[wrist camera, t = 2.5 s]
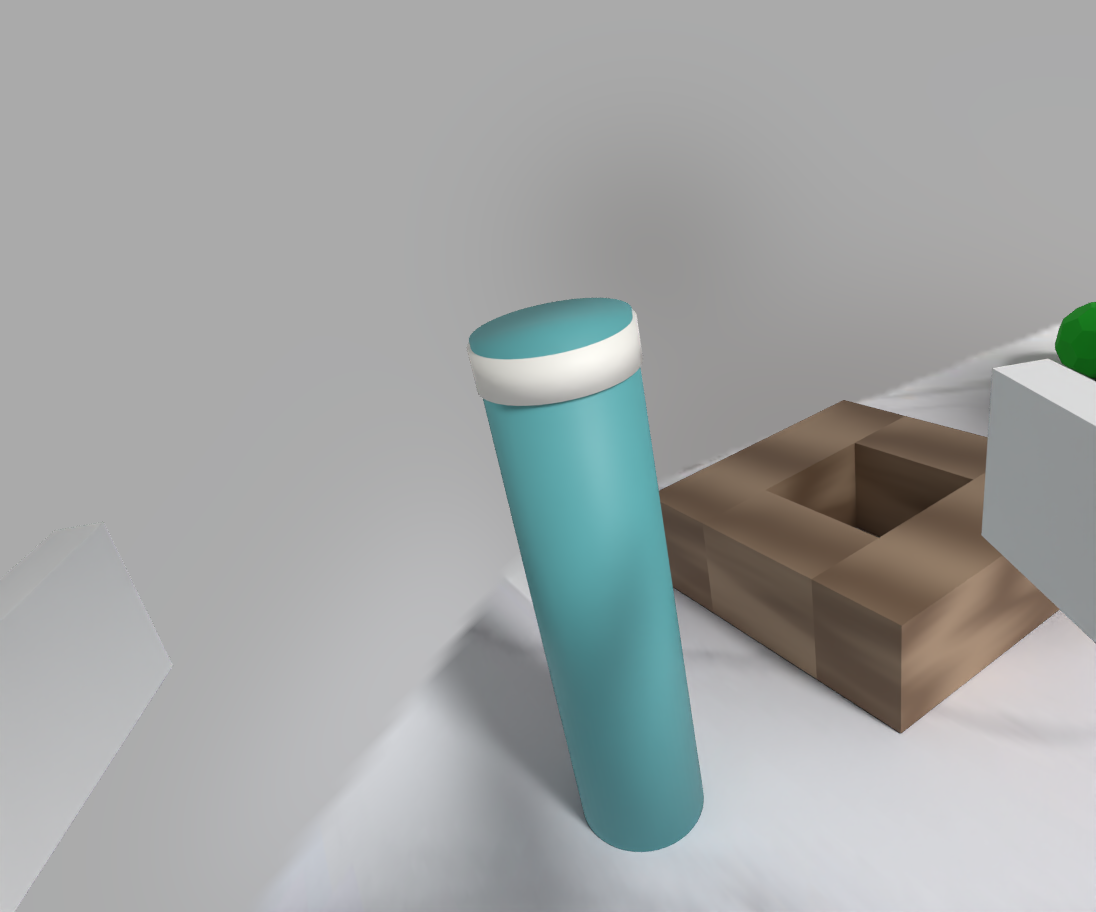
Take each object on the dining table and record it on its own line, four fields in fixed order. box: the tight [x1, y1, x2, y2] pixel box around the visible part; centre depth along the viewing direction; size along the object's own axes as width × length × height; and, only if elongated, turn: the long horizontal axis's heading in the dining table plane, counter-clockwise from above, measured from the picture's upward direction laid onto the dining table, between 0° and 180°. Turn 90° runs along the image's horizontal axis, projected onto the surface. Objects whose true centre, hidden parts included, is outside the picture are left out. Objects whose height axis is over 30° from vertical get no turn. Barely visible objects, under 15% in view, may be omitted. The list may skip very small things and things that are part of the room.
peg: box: [467, 298, 704, 852], centre depth 24 cm, size 5×5×18 cm
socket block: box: [659, 400, 1059, 733], centre depth 36 cm, size 14×14×5 cm
